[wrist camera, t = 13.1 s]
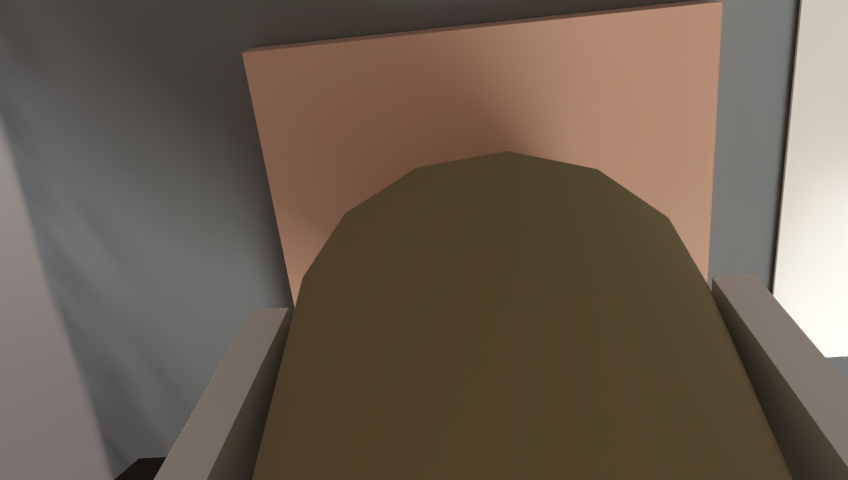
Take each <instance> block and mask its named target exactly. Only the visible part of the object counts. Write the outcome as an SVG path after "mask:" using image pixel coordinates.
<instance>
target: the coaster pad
mask: <svg viewBox="0 0 848 480" xmlns="http://www.w3.org/2000/svg"><path fill="white" fill-rule="evenodd" d="M722 5H723V2H722V1H718V0H694V1H685V2H675V3H666V4H657V5H647V6H638V7H629V8H619V9H610V10H601V11H591V12H582V13H573V14H563V15H554V16H545V17H536V18H526V19H517V20H508V21H498V22H489V23H480V24H470V25H461V26H452V27H442V28H433V29H424V30H414V31H405V32H396V33H386V34H377V35H368V36H358V37H349V38H340V39H330V40H321V41H312V42H302V43H293V44H284V45H274V46H265V47H256V48H250V49H249V50H247V51H245V52H243V53H242V56H243V61H244V66H245V70H246V75H247V80H248V85H249V90H250V95H251V99H252V104H253V109H254V114H255V119H256V123H257V128H258V133H259V138H260V143H261V148H262V152H263V157H264V162H265V167H266V172H267V177H268V181H269V186H270V191H271V196H272V201H273V206H274V210H275V215H276V220H277V225H278V230H279V234H280V239H281V244H282V249H283V254H284V259H285V263H286V268H287V273H288V278H289V283H290V288H291V292H292V297H293V302H294V307H295V305H296V301H297V297H298V293H299V289H300V285H301V281H302V278H303V276H304V275H305V273H306V272H307V270H308V269H309V267H310V266H311V264H312V263H313V261H314V260H315V258H316V256H317V255H318V253H319V252H320V250H321V249H322V247H323V246H324V244H325V243H326V241H327V240H328V238H329V237H330V235H331V234H332V232H333V231H334V229H335V228H336V226H337V225H338V223H339V222H340V220H341V219H342V217H343V216H344V214H345V213H346V212H348V211H350V210H351V209H353V208H354V207H356V206H357V205H359V204H360V203H362V202H364V201H365V200H367V199H368V198H370V197H371V196H373V195H375V194H376V193H378V192H379V191H381V190H382V189H384V188H386V187H387V186H389V185H390V184H392V183H393V182H395V181H397V180H398V179H400V178H401V177H403V176H404V175H406V174H408V173H409V172H411V171H412V170H414V169H415V168H417V167H422V166H427V165H433V164H438V163H444V162H449V161H455V160H460V159H466V158H471V157H477V156H482V155H488V154H493V153H499V152H504V151H510V152H515V153H520V154H525V155H530V156H535V157H540V158H545V159H550V160H555V161H560V162H565V163H570V164H575V165H580V166H585V167H590V168H595V169H598V170H599V171H601V172H602V173H604V174H605V175H607V176H608V177H610V178H611V179H613V180H614V181H616V182H617V183H619V184H620V185H621V186H623V187H624V188H626V189H627V190H629V191H630V192H632V193H633V194H635V195H636V196H638V197H639V198H641V199H642V200H643V201H645V202H646V203H648V204H649V205H651V206H652V207H654V208H655V209H657V210H658V211H660V212H661V213H662V214H664V215H665V216H667V217H668V218H669V219H670V221H671V223H672V224H673V226H674V228H675V229H676V231H677V233H678V235H679V236H680V238H681V240H682V241H683V243H684V245H685V247H686V248H687V250H688V252H689V253H690V255H691V257H692V259H693V260H694V262H695V264H696V265H697V267H698V269H699V271H700V272H701V274H702V276H703V277H704V279H705V281H706V282H707V278H708V260H709V242H710V224H711V205H712V187H713V169H714V151H715V133H716V114H717V96H718V78H719V60H720V41H721V23H722Z"/></svg>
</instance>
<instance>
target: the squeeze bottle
mask: <svg viewBox="0 0 848 480" xmlns="http://www.w3.org/2000/svg"><path fill="white" fill-rule="evenodd" d="M252 480H793V477H792V475H791V473H790V471H789V468H788V466H787V464H786V461H785V459H784V457H783V455H782V452H781V450H780V448H779V446H778V443H777V441H776V439H775V436H774V434H773V432H772V430H771V427H770V425H769V423H768V420H767V418H766V416H765V414H764V411H763V409H762V407H761V405H760V402H759V400H758V398H757V395H756V393H755V391H754V389H753V386H752V384H751V382H750V379H749V377H748V375H747V373H746V370H745V368H744V366H743V364H742V361H741V359H740V357H739V354H738V352H737V350H736V348H735V345H734V343H733V341H732V338H731V336H730V334H729V332H728V329H727V327H726V325H725V323H724V320H723V318H722V316H721V313H720V311H719V309H718V307H717V304H716V302H715V300H714V297H713V295H712V293H711V291H710V288H709V286H708V284H707V282H706V281H705V279H704V277H703V276H702V274H701V272H700V271H699V269H698V267H697V265H696V264H695V262H694V260H693V259H692V257H691V255H690V253H689V252H688V250H687V248H686V247H685V245H684V243H683V241H682V240H681V238H680V236H679V235H678V233H677V231H676V229H675V228H674V226H673V224H672V223H671V221H670V219H669V218H668V217H667V216H665V215H664V214H662V213H661V212H660V211H658V210H657V209H655V208H654V207H652V206H651V205H649V204H648V203H646V202H645V201H643V200H642V199H641V198H639V197H638V196H636V195H635V194H633V193H632V192H630V191H629V190H627V189H626V188H624V187H623V186H621V185H620V184H619V183H617V182H616V181H614V180H613V179H611V178H610V177H608V176H607V175H605V174H604V173H602V172H601V171H599V170H598V169H595V168H590V167H585V166H580V165H575V164H570V163H565V162H560V161H555V160H550V159H545V158H540V157H535V156H530V155H525V154H520V153H515V152H510V151H504V152H499V153H493V154H488V155H482V156H477V157H471V158H466V159H460V160H455V161H449V162H444V163H438V164H433V165H427V166H422V167H417V168H415V169H414V170H412V171H411V172H409V173H408V174H406V175H404V176H403V177H401V178H400V179H398V180H397V181H395V182H393V183H392V184H390V185H389V186H387V187H386V188H384V189H382V190H381V191H379V192H378V193H376V194H375V195H373V196H371V197H370V198H368V199H367V200H365V201H364V202H362V203H360V204H359V205H357V206H356V207H354V208H353V209H351V210H350V211H348V212H346V213H345V214H344V216H343V217H342V219H341V220H340V222H339V223H338V225H337V226H336V228H335V229H334V231H333V232H332V234H331V235H330V237H329V238H328V240H327V241H326V243H325V244H324V246H323V247H322V249H321V250H320V252H319V253H318V255H317V256H316V258H315V260H314V261H313V263H312V264H311V266H310V267H309V269H308V270H307V272H306V273H305V275H304V276H303V278H302V281H301V285H300V289H299V293H298V297H297V301H296V305H295V309H294V313H293V317H292V321H291V325H290V329H289V333H288V337H287V341H286V345H285V349H284V353H283V357H282V361H281V365H280V369H279V373H278V377H277V381H276V385H275V389H274V393H273V397H272V400H271V404H270V408H269V412H268V416H267V420H266V424H265V428H264V432H263V436H262V440H261V444H260V448H259V452H258V456H257V460H256V464H255V468H254V472H253V476H252Z"/></svg>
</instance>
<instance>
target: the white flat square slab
mask: <svg viewBox="0 0 848 480" xmlns="http://www.w3.org/2000/svg"><path fill="white" fill-rule="evenodd" d="M772 295H773V296H774V297H775V299H776V300H777V301H778V302H779V303H780V304H781V306H782V307H783V308H784V309H785V310H786V312H787V313H788V314H789V315H790V316H791V317H792V319H793V320H794V321H795V322H796V323H797V325H798V326H799V327H800V328H801V329H802V330H803V332H804V333H805V334H806V335H807V336H808V338H809V339H810V340H811V341H812V342H813V343H814V345H815V346H816V347H817V348H818V349H819V351H820V352H821V353H822V354H823V355H824V356H825V357H839V356H848V0H800V7H799V17H798V28H797V38H796V49H795V59H794V69H793V80H792V90H791V101H790V111H789V121H788V132H787V142H786V153H785V163H784V173H783V184H782V194H781V205H780V215H779V225H778V236H777V246H776V257H775V267H774V278H773V288H772Z"/></svg>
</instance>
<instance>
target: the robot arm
mask: <svg viewBox="0 0 848 480" xmlns="http://www.w3.org/2000/svg"><path fill="white" fill-rule="evenodd" d="M712 295H713V297H714V300H715V302H716V304H717V307H718V309H719V311H720V313H721V316H722V318H723V320H724V323H725V325H726V327H727V329H728V332H729V334H730V336H731V338H732V341H733V343H734V345H735V348H736V350H737V352H738V354H739V357H740V359H741V361H742V364H743V366H744V368H745V370H746V373H747V375H748V377H749V379H750V382H751V384H752V386H753V389H754V391H755V393H756V395H757V398H758V400H759V402H760V405H761V407H762V409H763V411H764V414H765V416H766V418H767V420H768V423H769V425H770V427H771V430H772V432H773V434H774V436H775V439H776V441H777V443H778V446H779V448H780V450H781V452H782V455H783V457H784V459H785V461H786V464H787V466H788V468H789V471H790V473H791V475H792V477H793V480H848V384H847V382H846V381H845V380H844V379H843V378H842V377H841V375H840V374H839V373H838V372H837V371H836V369H835V368H834V367H833V366H832V365H831V364H830V362H829V361H828V360H827V359H826V358H825V356H824V355H823V354H822V353H821V352H820V351H819V349H818V348H817V347H816V346H815V345H814V343H813V342H812V341H811V340H810V339H809V338H808V336H807V335H806V334H805V333H804V332H803V330H802V329H801V328H800V327H799V326H798V325H797V323H796V322H795V321H794V320H793V319H792V317H791V316H790V315H789V314H788V313H787V312H786V310H785V309H784V308H783V307H782V306H781V304H780V303H779V302H778V301H777V300H776V299H775V297H774V296H773V295H772V294H771V293H770V291H769V290H768V289H767V288H766V287H765V286H764V284H763V283H762V282H761V281H760V280H759V278H758V277H757V276H756V275H755V274H754V275H740V276H726V277H712ZM290 325H291V316H290V311H289V307H287V308H273V309H259V310H251V311H250V313H249V314H248V316H247V318H246V320H245V321H244V323H243V325H242V327H241V328H240V330H239V332H238V334H237V335H236V337H235V339H234V341H233V342H232V344H231V346H230V348H229V349H228V351H227V353H226V355H225V356H224V358H223V360H222V361H221V363H220V365H219V367H218V368H217V370H216V372H215V374H214V375H213V377H212V379H211V381H210V382H209V384H208V386H207V388H206V389H205V391H204V393H203V395H202V396H201V398H200V400H199V402H198V403H197V405H196V407H195V409H194V410H193V412H192V414H191V415H190V417H189V419H188V421H187V422H186V424H185V426H184V428H183V429H182V431H181V433H180V435H179V436H178V438H177V440H176V442H175V443H174V445H173V447H172V449H171V450H170V452H169V454H168V456H167V457H162V458H142V459H138V460H137V461H136V462H134V463H133V464H132V465H131V466H130V467H129V468H128V469H126V470H125V471H124V472H123V473H122V474H121V475H120V476H118V477H117V478H116V479H115V480H252V476H253V472H254V468H255V464H256V460H257V456H258V452H259V448H260V444H261V440H262V436H263V432H264V428H265V424H266V420H267V416H268V412H269V408H270V404H271V400H272V397H273V393H274V389H275V385H276V381H277V377H278V373H279V369H280V365H281V361H282V357H283V353H284V349H285V345H286V341H287V337H288V333H289V329H290Z"/></svg>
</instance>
